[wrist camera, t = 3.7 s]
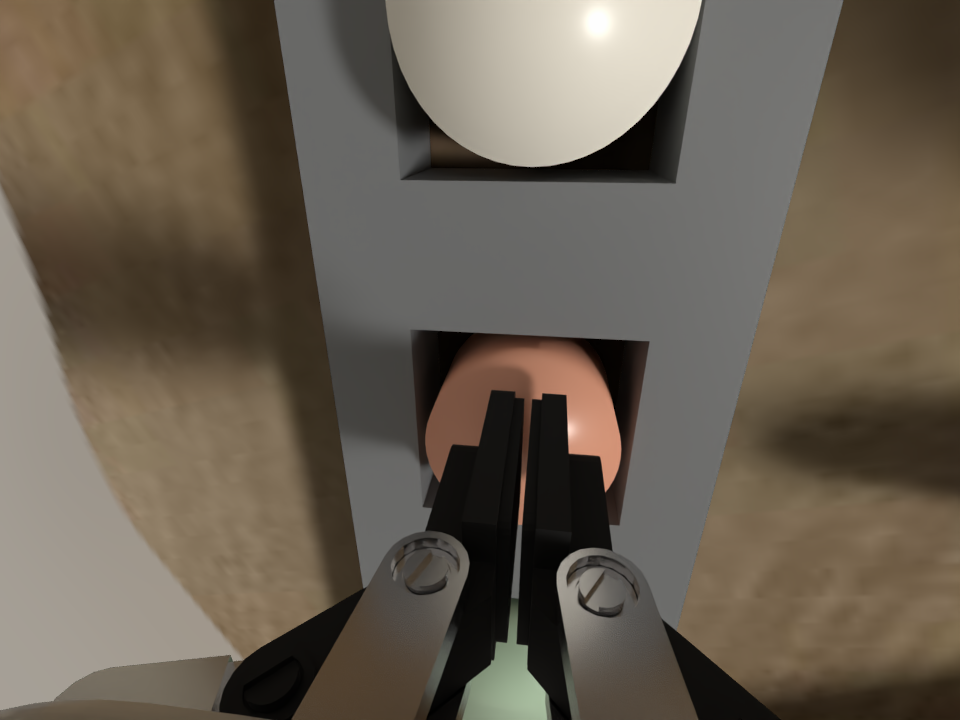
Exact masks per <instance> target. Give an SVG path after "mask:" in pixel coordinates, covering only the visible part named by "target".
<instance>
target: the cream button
mask: <svg viewBox="0 0 960 720" xmlns="http://www.w3.org/2000/svg"><path fill="white" fill-rule="evenodd" d="M385 2H386V11H387V19H388V27H389V31H390V35H391V40H392V44H393V48H394V51H395V54H396V57H397V60H398V63H399V66H400V69H401V71H402V73H403V75H404V77H405V79H406V81H407V84H408V86H409V88H410V90H411V91H412V93H413V94H414V96H415V98H416V99H417V101H418V102H419V104H420V105H421V107H422V108H423V109H424V111H425V112H426V113H427V114H428V116H429V117H430V118H431V119H432V121H433V122H434V123H435V124H436V125H437V126H438V127H439V128H440V129H442V130H443V131H444V132H445V133H446V134H447V135H448V136H449V137H451V138H452V139H453V140H455V141H456V142H457V143H459V144H460V145H461V146H463V147H465V148H466V149H468V150H470V151H472V152H474V153H476V154H477V155H480V156H482V157H485V158H487V159H490V160H493V161H495V162H500V163H504V164H509V165H513V166H525V167H540V166H552V165H557V164H562V163H567V162H570V161H573V160H576V159H579V158H582V157H585V156H587V155H589V154H591V153H593V152H595V151H597V150H599V149H601V148H603V147H605V146H607V145H608V144H610V143H611V142H613V141H614V140H616V139H617V138H619V137H620V136H622V135H623V134H624V133H625V132H626V131H628V130H629V129H630V128H631V127H632V126H634V125H635V124H636V123H637V122H638V121H639V120H640V119H641V118H642V117H643V116H644V115H645V114H646V113H647V112H648V110H649V109H650V108H651V107H652V106H653V105H654V104H655V102H656V101H657V100H658V98H659V97H660V96H661V94H662V93H663V92H664V90H665V89H666V88H667V86H668V84H669V83H670V81H671V79H672V78H673V76H674V74H675V73H676V71H677V69H678V67H679V66H680V64H681V61H682V59H683V57H684V55H685V53H686V50H687V48H688V46H689V44H690V41H691V38H692V35H693V32H694V29H695V26H696V23H697V20H698V16H699V11H700V7H701V2H702V0H385Z"/></svg>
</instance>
